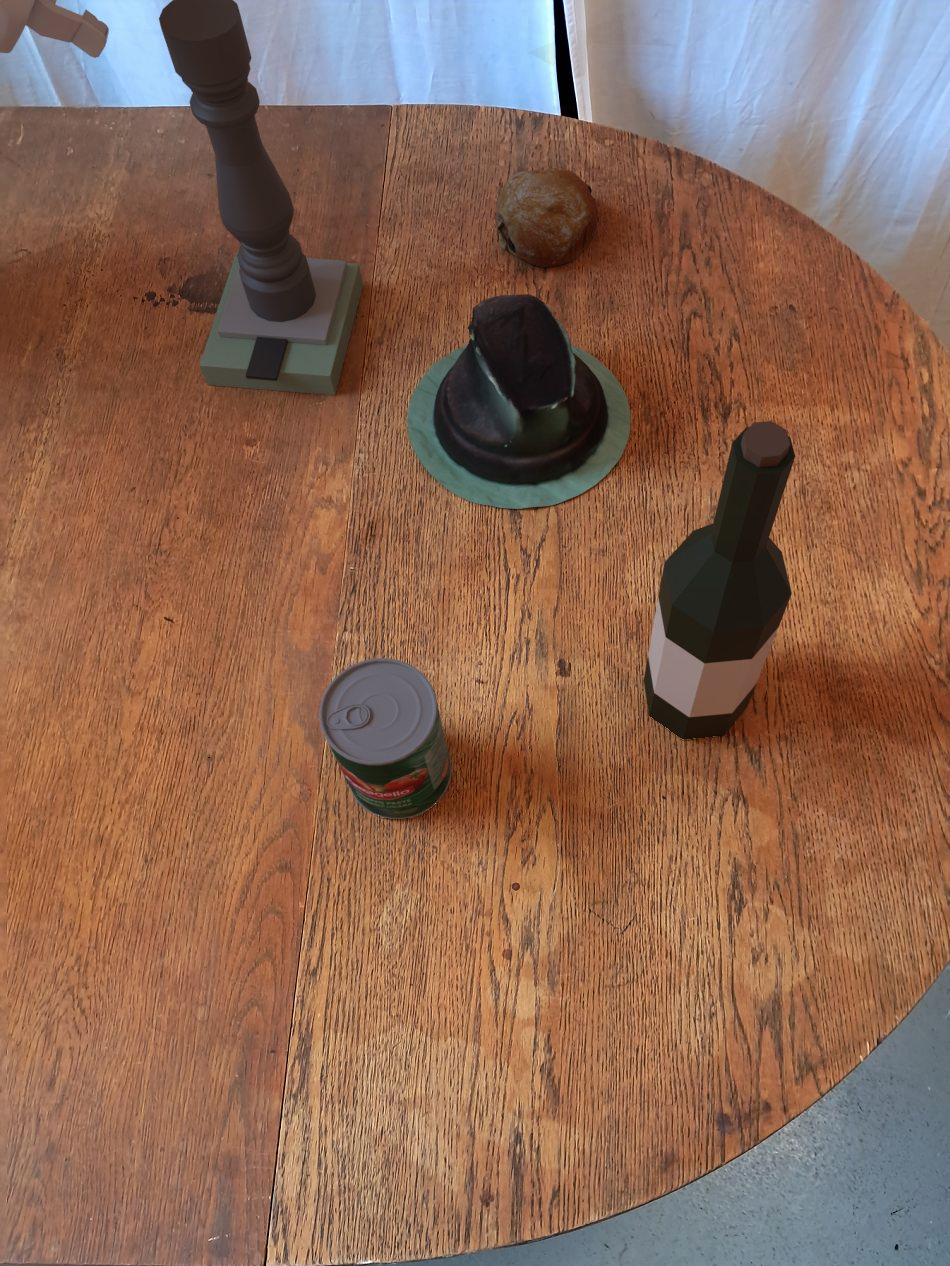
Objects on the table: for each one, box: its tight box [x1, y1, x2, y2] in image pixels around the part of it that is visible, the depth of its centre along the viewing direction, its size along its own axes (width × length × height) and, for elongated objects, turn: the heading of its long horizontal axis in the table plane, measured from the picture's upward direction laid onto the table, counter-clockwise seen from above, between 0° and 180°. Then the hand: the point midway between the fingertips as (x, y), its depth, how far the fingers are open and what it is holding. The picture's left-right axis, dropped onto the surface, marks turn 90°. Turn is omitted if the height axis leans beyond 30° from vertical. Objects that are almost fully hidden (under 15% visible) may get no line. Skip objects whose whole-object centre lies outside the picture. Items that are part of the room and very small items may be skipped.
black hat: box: [407, 293, 632, 510], centre depth 91 cm, size 15×19×20 cm
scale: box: [199, 254, 364, 396], centre depth 97 cm, size 12×15×3 cm
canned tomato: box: [318, 657, 453, 820], centre depth 74 cm, size 8×8×11 cm
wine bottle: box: [643, 420, 796, 740], centre depth 68 cm, size 8×8×30 cm
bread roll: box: [495, 167, 599, 268], centre depth 102 cm, size 10×10×8 cm
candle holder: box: [158, 0, 316, 322], centre depth 85 cm, size 6×6×25 cm
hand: (116, 1), depth 72 cm, fingers open, 8 cm apart
